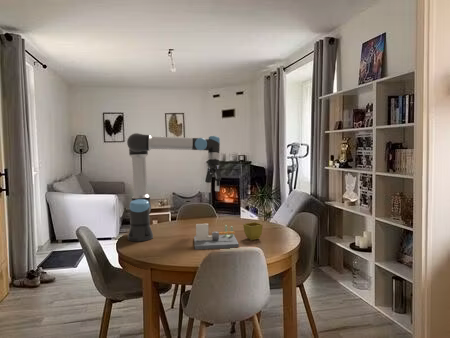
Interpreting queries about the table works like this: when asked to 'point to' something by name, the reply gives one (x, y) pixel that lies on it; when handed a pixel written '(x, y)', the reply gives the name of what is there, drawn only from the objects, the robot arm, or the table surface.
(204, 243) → the lever toy board
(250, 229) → the flower pot
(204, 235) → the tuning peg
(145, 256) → the table surface
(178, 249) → the table surface
